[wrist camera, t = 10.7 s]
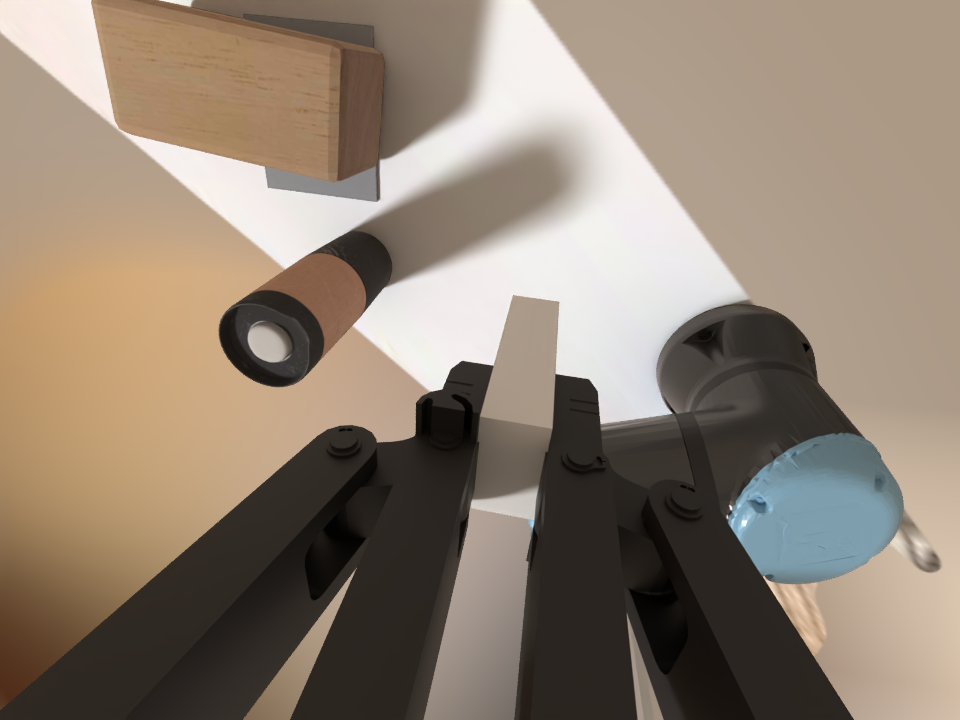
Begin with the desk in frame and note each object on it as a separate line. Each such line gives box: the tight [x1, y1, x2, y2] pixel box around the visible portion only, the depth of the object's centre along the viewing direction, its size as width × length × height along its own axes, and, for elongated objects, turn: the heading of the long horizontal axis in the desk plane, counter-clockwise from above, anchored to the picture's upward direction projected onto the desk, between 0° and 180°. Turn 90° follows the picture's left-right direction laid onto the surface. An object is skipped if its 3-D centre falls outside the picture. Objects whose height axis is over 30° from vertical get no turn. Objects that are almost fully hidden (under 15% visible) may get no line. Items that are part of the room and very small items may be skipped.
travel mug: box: [219, 232, 392, 387], centre depth 45 cm, size 8×8×20 cm
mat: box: [244, 14, 377, 202], centre depth 46 cm, size 12×15×1 cm
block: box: [91, 0, 385, 183], centre depth 41 cm, size 10×10×20 cm
